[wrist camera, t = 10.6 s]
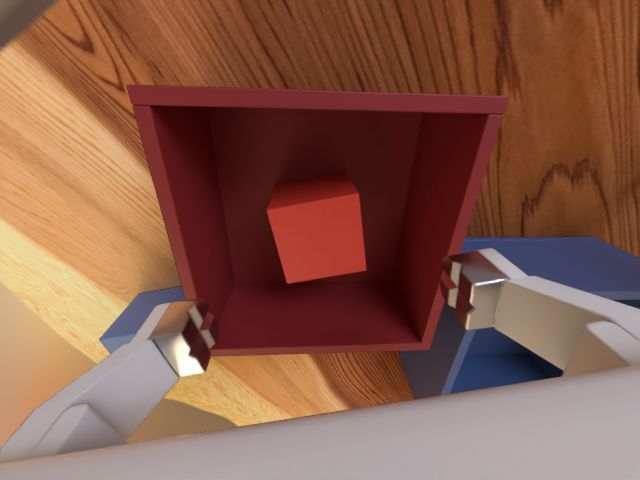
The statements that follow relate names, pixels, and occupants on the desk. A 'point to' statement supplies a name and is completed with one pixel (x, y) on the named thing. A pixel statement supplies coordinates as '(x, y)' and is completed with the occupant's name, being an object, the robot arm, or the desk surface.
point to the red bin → (306, 162)
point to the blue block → (137, 316)
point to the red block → (317, 227)
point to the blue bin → (495, 347)
